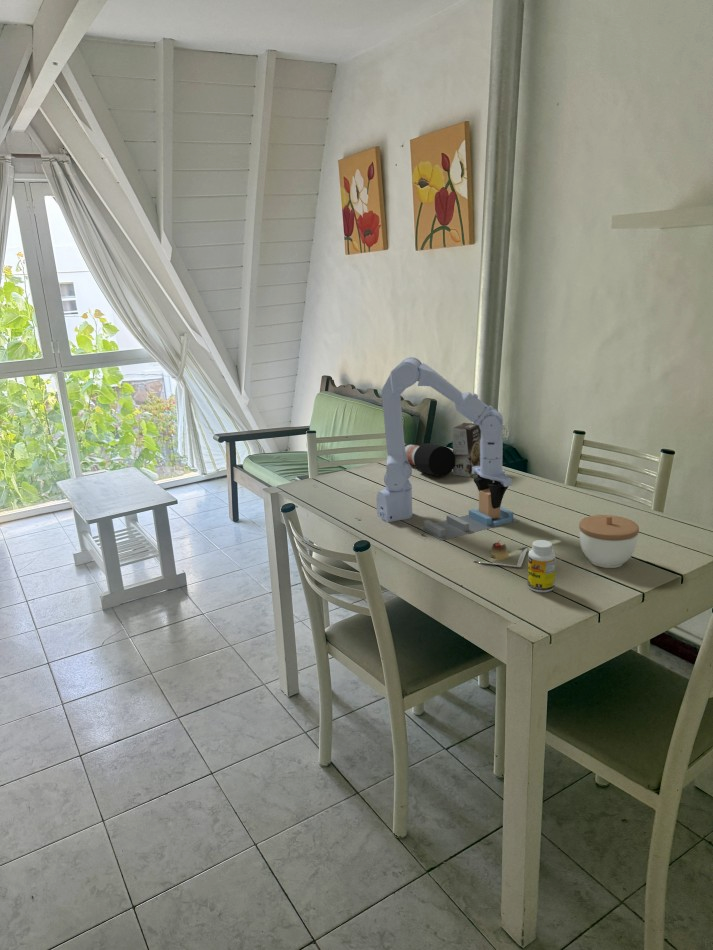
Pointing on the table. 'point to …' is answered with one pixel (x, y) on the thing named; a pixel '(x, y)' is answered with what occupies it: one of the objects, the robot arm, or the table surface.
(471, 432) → the coffee box
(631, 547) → the lidded bowl
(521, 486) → the table surface
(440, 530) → the grey fixture plate
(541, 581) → the supplement bottle
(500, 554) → the dessert
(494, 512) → the tan cardboard block
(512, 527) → the table surface
